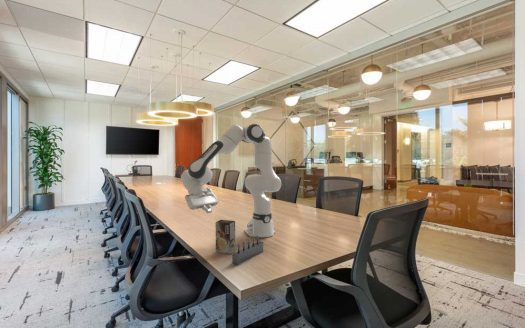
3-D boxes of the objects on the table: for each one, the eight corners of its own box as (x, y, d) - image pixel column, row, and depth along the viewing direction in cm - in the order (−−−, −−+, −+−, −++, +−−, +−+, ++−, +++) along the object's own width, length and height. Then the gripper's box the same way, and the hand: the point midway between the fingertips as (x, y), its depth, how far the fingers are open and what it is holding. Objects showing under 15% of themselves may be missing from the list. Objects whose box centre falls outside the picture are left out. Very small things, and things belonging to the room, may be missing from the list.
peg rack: (231, 263, 122) (231, 245, 122) (258, 250, 141) (258, 233, 140) (237, 265, 120) (237, 246, 120) (263, 251, 139) (263, 234, 138)
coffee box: (236, 250, 140) (236, 220, 140) (230, 254, 134) (230, 223, 134) (221, 247, 144) (221, 219, 143) (215, 251, 138) (215, 221, 137)
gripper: (186, 191, 140) (198, 211, 135) (213, 188, 157) (224, 206, 152) (180, 198, 143) (192, 219, 137) (207, 195, 160) (219, 213, 154)
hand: (209, 212), depth 145 cm, fingers closed
